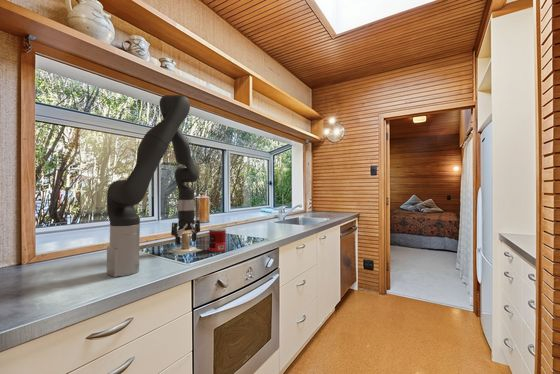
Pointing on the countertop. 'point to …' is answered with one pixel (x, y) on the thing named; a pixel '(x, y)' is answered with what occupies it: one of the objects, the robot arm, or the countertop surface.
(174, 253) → the mat
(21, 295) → the countertop surface
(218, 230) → the canned food
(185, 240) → the lid
